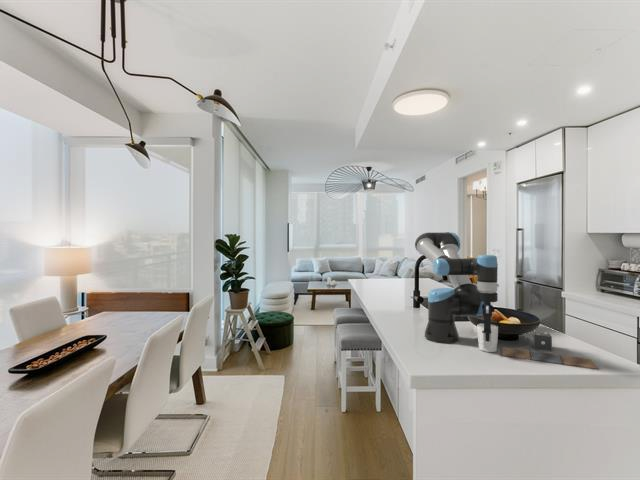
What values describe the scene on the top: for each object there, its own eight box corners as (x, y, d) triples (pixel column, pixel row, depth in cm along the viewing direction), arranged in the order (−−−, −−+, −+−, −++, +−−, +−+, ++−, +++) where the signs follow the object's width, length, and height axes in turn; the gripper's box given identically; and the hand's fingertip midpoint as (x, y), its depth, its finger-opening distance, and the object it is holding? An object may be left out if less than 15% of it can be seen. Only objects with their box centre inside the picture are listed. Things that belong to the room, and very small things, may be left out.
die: (534, 349, 135) (534, 334, 135) (532, 344, 140) (532, 331, 140) (551, 351, 132) (551, 336, 132) (549, 346, 137) (549, 332, 137)
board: (502, 355, 127) (502, 354, 127) (501, 348, 136) (501, 347, 136) (598, 369, 113) (598, 368, 113) (590, 360, 121) (590, 359, 121)
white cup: (490, 354, 129) (490, 329, 129) (473, 348, 136) (473, 324, 136) (502, 350, 132) (502, 326, 132) (485, 345, 139) (484, 322, 139)
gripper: (497, 296, 123) (498, 354, 123) (497, 288, 141) (497, 340, 141) (476, 294, 127) (476, 351, 127) (478, 287, 145) (478, 337, 145)
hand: (487, 345), depth 134 cm, fingers closed on white cup, 8 cm apart
